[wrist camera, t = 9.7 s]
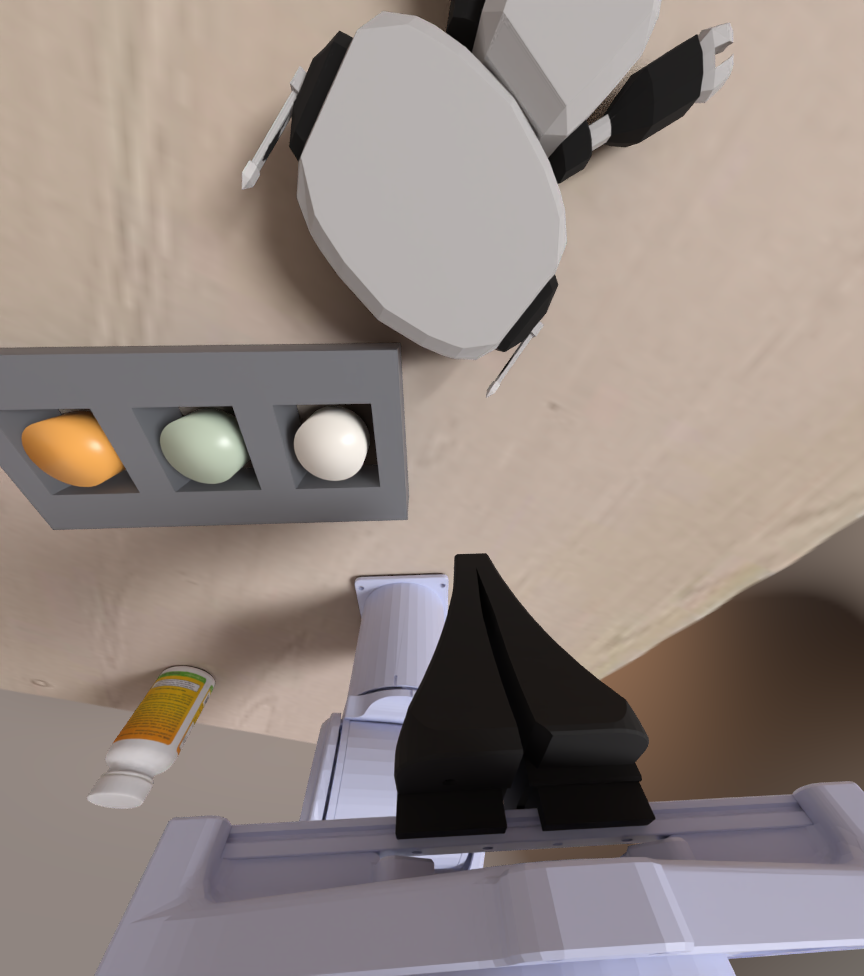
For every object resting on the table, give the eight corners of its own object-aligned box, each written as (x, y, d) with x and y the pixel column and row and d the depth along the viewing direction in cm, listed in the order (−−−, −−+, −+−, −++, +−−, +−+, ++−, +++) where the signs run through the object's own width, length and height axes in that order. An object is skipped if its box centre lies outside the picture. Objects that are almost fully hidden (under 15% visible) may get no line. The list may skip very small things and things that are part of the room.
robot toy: (490, -257, 9) (272, 228, 14) (555, -692, 5) (220, 189, 10) (688, 117, 14) (468, 393, 18) (806, 29, 10) (486, 411, 14)
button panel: (408, 494, 22) (407, 519, 20) (96, 502, 22) (53, 529, 19) (400, 342, 17) (397, 349, 14) (-11, 348, 16) (-91, 356, 14)
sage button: (261, 467, 19) (246, 483, 18) (200, 468, 19) (179, 484, 17) (241, 407, 17) (222, 418, 16) (173, 408, 17) (146, 420, 15)
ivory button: (373, 464, 19) (368, 480, 18) (312, 465, 19) (302, 481, 18) (366, 405, 17) (360, 416, 16) (299, 406, 17) (285, 417, 16)
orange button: (148, 469, 19) (121, 486, 17) (85, 471, 19) (52, 488, 17) (114, 409, 17) (80, 421, 15) (44, 411, 17) (3, 422, 15)
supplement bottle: (151, 667, 32) (58, 794, 24) (200, 661, 32) (123, 787, 24) (180, 692, 35) (105, 814, 27) (225, 687, 35) (164, 808, 26)
